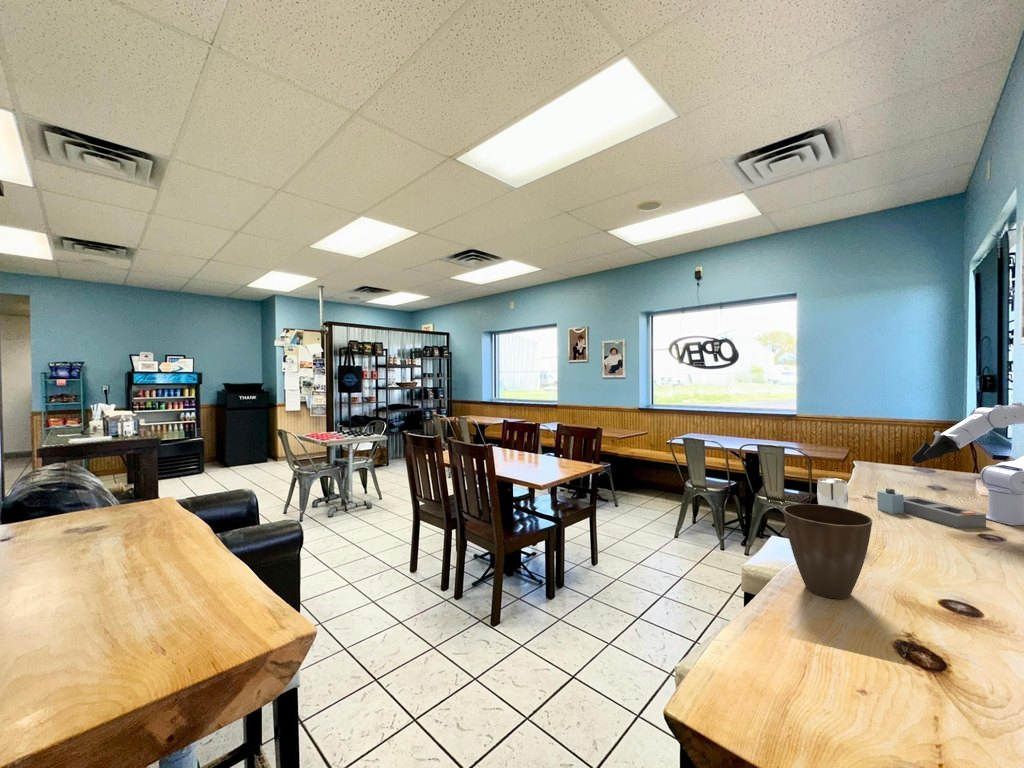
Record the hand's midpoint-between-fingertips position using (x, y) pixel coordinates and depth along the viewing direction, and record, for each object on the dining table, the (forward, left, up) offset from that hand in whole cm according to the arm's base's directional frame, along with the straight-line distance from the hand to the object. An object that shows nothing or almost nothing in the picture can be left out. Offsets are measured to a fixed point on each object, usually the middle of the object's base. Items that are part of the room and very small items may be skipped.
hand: (920, 458), depth 130 cm
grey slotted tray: (-7, -2, -19) cm, 20 cm away
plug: (+1, -9, -19) cm, 21 cm away
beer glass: (+35, +6, -19) cm, 40 cm away
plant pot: (+63, +35, -19) cm, 74 cm away
